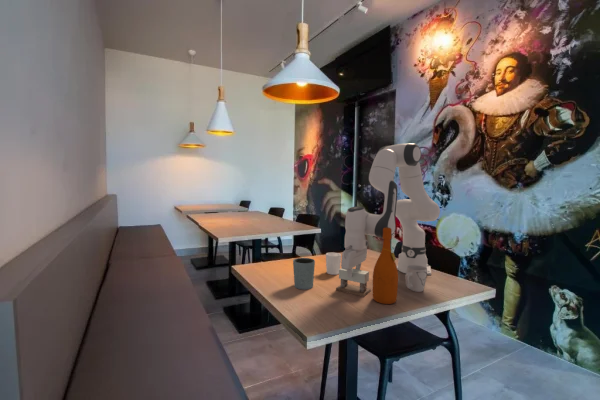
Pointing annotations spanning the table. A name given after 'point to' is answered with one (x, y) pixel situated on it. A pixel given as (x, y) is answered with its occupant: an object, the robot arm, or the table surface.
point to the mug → (416, 277)
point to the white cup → (333, 263)
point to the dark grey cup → (303, 273)
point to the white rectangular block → (355, 275)
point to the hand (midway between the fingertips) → (353, 274)
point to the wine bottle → (385, 273)
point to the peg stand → (353, 288)
